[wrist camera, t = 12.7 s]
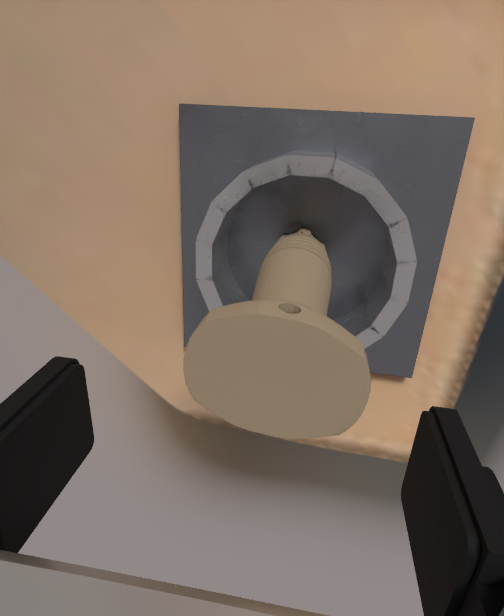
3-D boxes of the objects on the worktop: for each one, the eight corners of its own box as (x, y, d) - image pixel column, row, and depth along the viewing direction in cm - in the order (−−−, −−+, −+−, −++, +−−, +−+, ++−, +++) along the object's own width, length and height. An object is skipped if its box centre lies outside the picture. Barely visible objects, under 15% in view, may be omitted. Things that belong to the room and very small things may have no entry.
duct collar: (188, 340, 33) (165, 374, 29) (184, 104, 26) (153, 100, 22) (409, 370, 31) (421, 412, 26) (469, 117, 24) (500, 116, 19)
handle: (339, 293, 29) (348, 454, 15) (248, 274, 29) (178, 413, 16) (358, 225, 26) (388, 341, 13) (259, 205, 27) (189, 297, 13)
